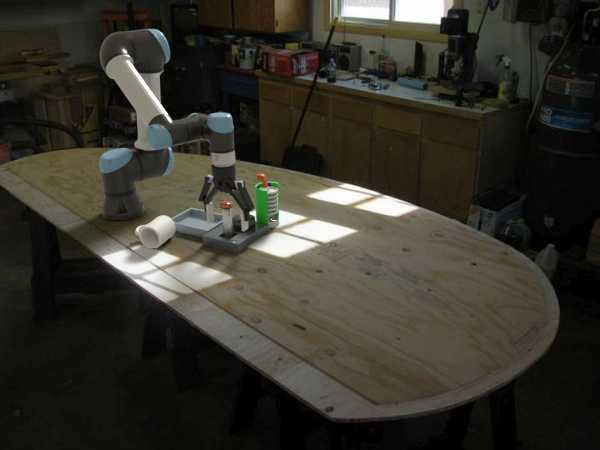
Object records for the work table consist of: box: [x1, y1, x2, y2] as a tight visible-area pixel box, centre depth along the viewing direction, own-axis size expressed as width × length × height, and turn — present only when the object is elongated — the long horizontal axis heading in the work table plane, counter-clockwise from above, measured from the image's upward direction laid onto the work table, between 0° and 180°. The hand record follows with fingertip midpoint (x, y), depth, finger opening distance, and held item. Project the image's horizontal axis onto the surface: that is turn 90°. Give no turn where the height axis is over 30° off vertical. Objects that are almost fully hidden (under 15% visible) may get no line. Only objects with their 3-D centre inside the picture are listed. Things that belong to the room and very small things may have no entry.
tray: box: [170, 207, 223, 239], centre depth 211 cm, size 18×14×3 cm
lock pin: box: [219, 200, 233, 239], centre depth 196 cm, size 4×4×14 cm
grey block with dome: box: [202, 213, 269, 254], centre depth 201 cm, size 14×18×7 cm
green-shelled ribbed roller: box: [254, 173, 280, 229], centre depth 209 cm, size 9×8×18 cm
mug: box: [134, 214, 177, 250], centre depth 199 cm, size 12×10×8 cm
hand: (227, 225), depth 196 cm, fingers open, 13 cm apart
